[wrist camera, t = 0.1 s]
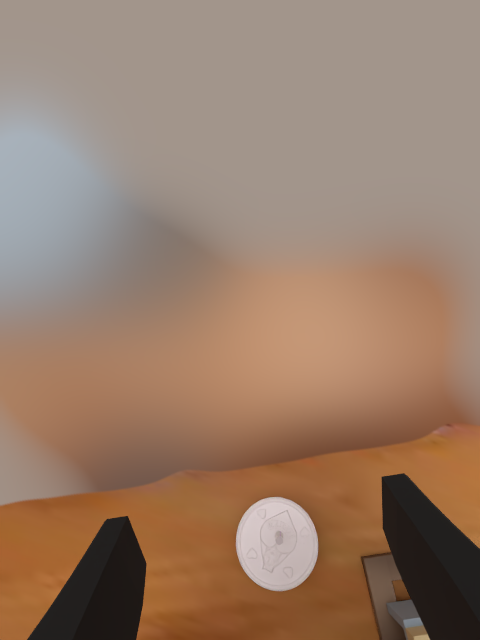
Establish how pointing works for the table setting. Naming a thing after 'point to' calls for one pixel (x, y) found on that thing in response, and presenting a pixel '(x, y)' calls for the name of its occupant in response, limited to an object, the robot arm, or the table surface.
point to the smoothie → (277, 544)
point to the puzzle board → (383, 593)
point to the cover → (408, 619)
